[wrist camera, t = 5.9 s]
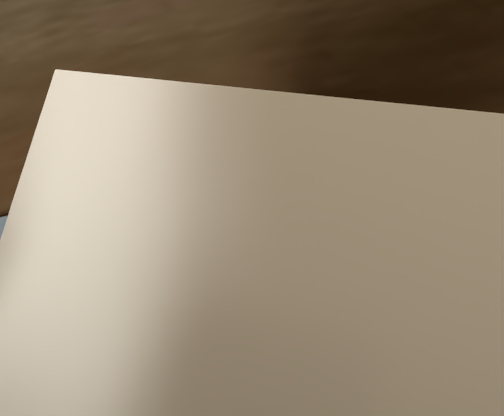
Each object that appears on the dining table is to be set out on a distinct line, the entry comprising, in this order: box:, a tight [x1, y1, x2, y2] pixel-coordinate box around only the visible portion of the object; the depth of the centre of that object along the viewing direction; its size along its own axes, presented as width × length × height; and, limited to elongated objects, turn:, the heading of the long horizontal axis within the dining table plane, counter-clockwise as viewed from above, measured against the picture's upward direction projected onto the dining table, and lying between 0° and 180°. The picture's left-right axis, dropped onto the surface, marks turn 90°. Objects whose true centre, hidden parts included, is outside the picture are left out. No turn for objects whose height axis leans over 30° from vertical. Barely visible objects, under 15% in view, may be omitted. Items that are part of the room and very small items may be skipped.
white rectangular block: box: [0, 69, 504, 416], centre depth 10 cm, size 7×7×10 cm
